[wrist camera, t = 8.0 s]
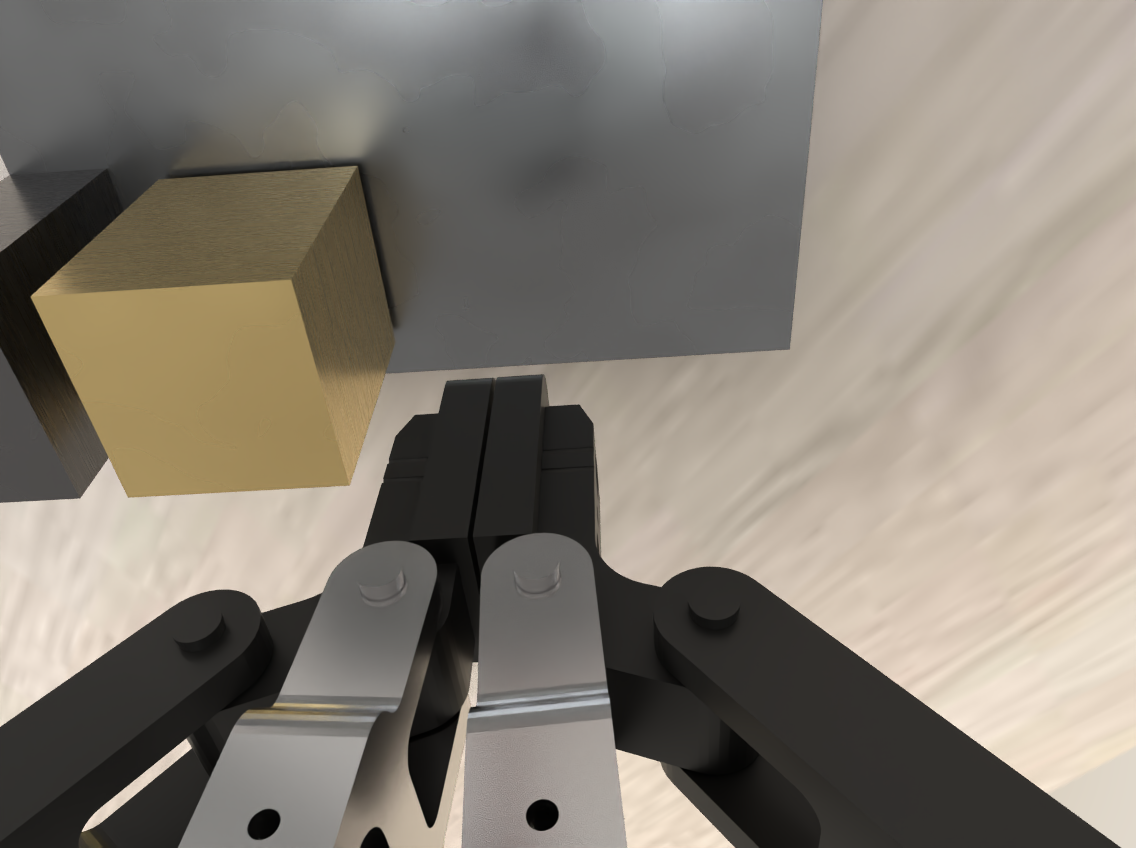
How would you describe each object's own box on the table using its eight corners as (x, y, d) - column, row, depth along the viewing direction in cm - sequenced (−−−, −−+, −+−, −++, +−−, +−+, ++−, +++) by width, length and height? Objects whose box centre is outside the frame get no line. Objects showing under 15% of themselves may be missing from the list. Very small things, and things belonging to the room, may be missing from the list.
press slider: (357, 165, 17) (291, 279, 13) (395, 341, 19) (349, 485, 15) (158, 179, 17) (30, 296, 13) (220, 352, 19) (127, 497, 15)
